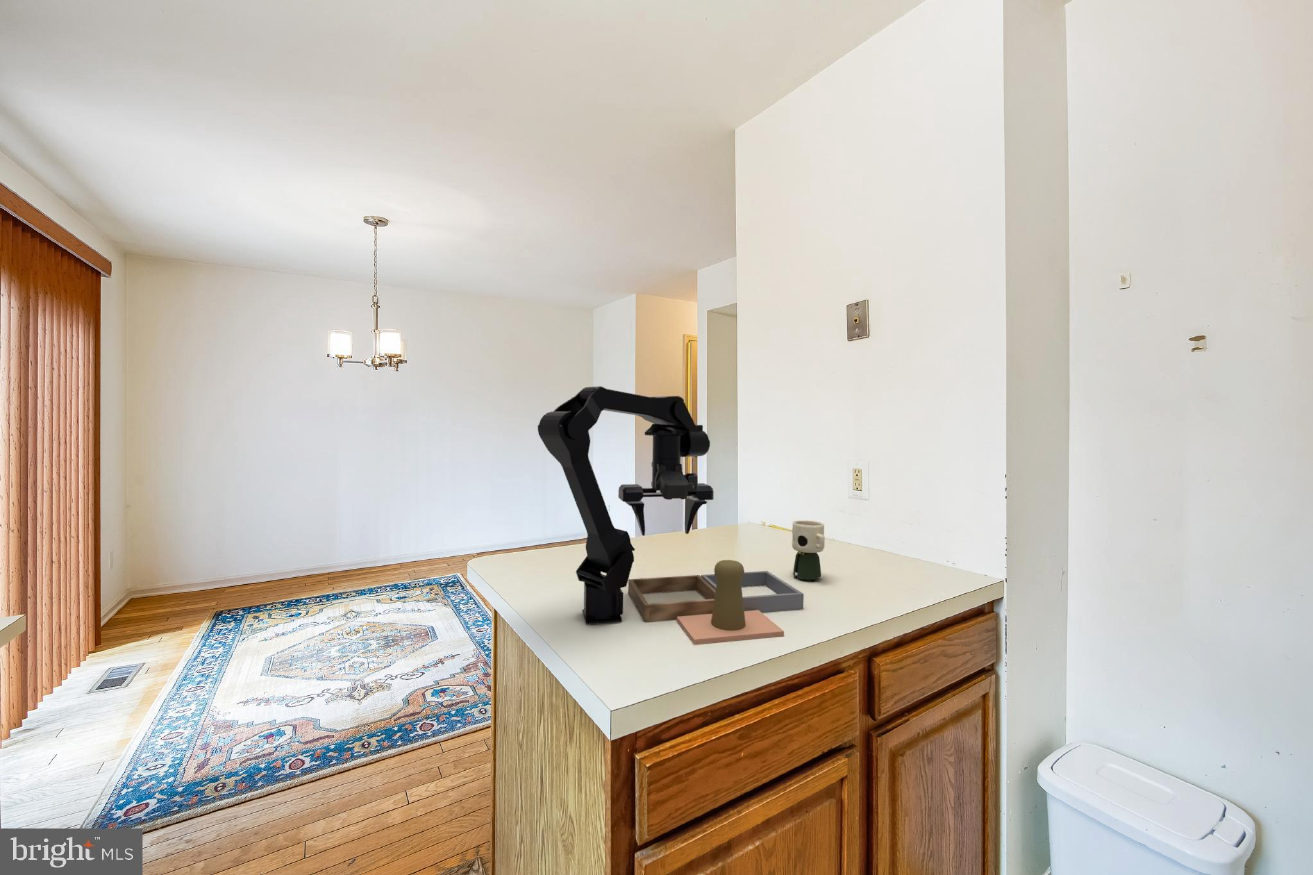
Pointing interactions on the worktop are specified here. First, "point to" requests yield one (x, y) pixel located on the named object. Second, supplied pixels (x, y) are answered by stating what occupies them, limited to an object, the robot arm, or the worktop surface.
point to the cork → (728, 596)
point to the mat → (705, 632)
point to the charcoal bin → (766, 603)
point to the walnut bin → (671, 608)
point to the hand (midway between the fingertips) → (665, 534)
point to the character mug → (807, 548)
